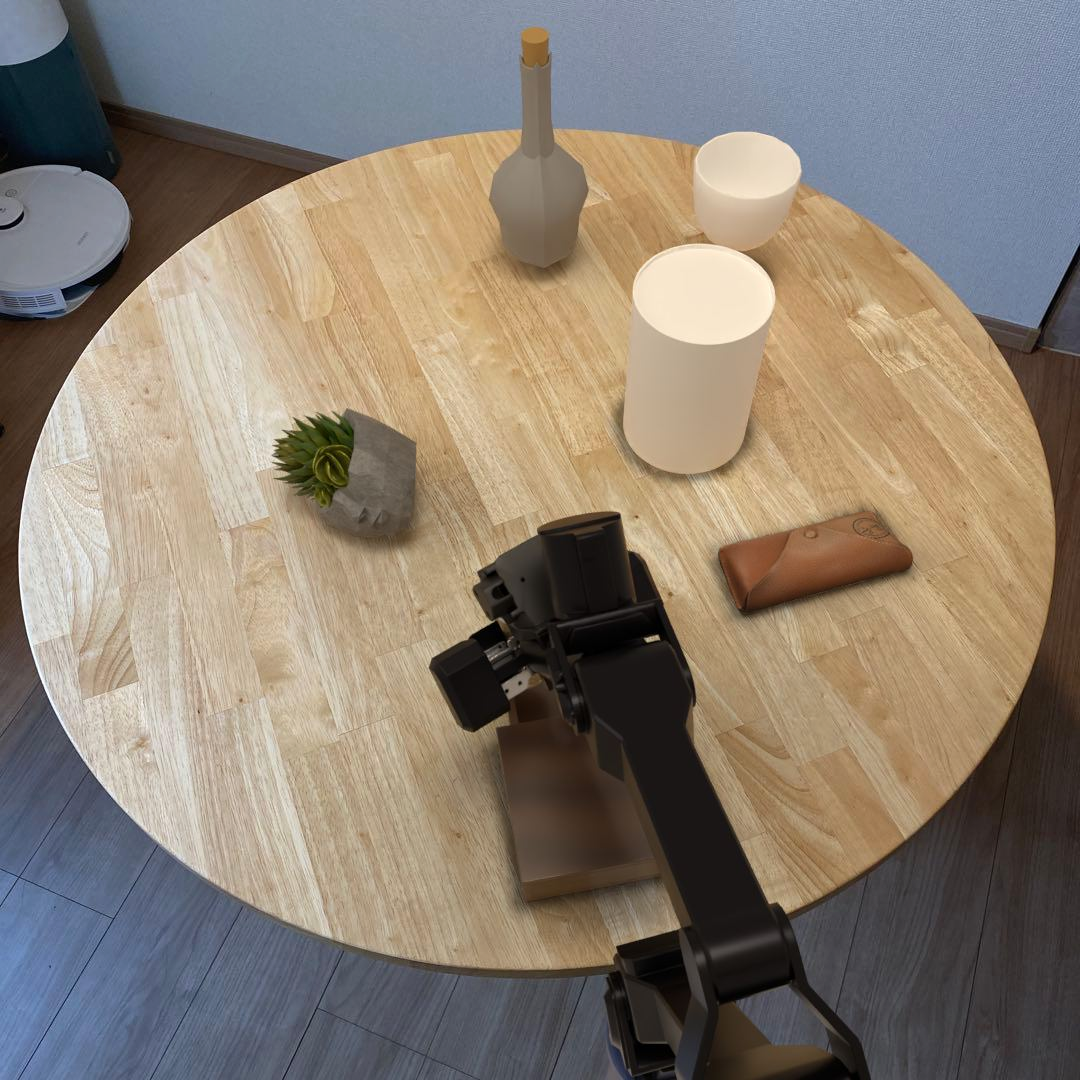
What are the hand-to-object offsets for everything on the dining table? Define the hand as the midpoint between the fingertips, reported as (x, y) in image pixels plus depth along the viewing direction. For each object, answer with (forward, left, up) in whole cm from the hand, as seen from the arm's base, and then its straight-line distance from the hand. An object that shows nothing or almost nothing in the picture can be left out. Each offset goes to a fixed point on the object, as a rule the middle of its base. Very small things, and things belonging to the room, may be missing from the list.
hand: (513, 620), depth 89 cm
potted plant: (+24, +14, -13) cm, 31 cm away
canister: (+28, -23, -13) cm, 39 cm away
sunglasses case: (+8, -31, -13) cm, 35 cm away
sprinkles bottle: (-1, -1, -7) cm, 7 cm away
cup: (+49, -34, -13) cm, 61 cm away
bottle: (+57, -12, -13) cm, 60 cm away
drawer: (0, -3, -12) cm, 13 cm away
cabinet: (-13, -3, -13) cm, 19 cm away
